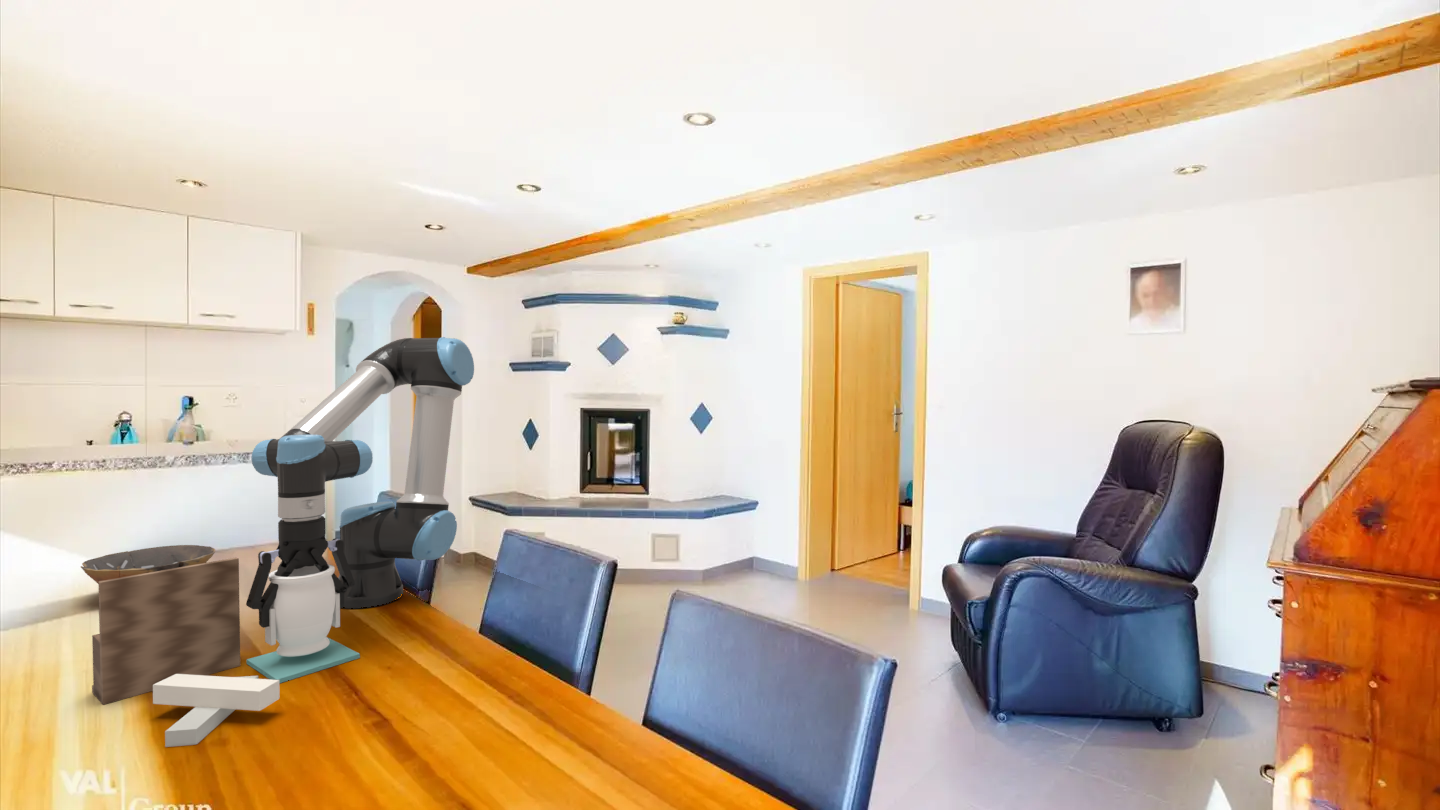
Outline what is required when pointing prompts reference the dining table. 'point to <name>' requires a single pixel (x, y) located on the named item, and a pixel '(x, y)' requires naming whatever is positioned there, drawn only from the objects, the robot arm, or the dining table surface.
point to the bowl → (146, 561)
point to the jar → (303, 610)
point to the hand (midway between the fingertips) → (303, 634)
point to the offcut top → (216, 692)
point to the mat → (301, 662)
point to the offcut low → (196, 725)
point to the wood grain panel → (165, 627)
